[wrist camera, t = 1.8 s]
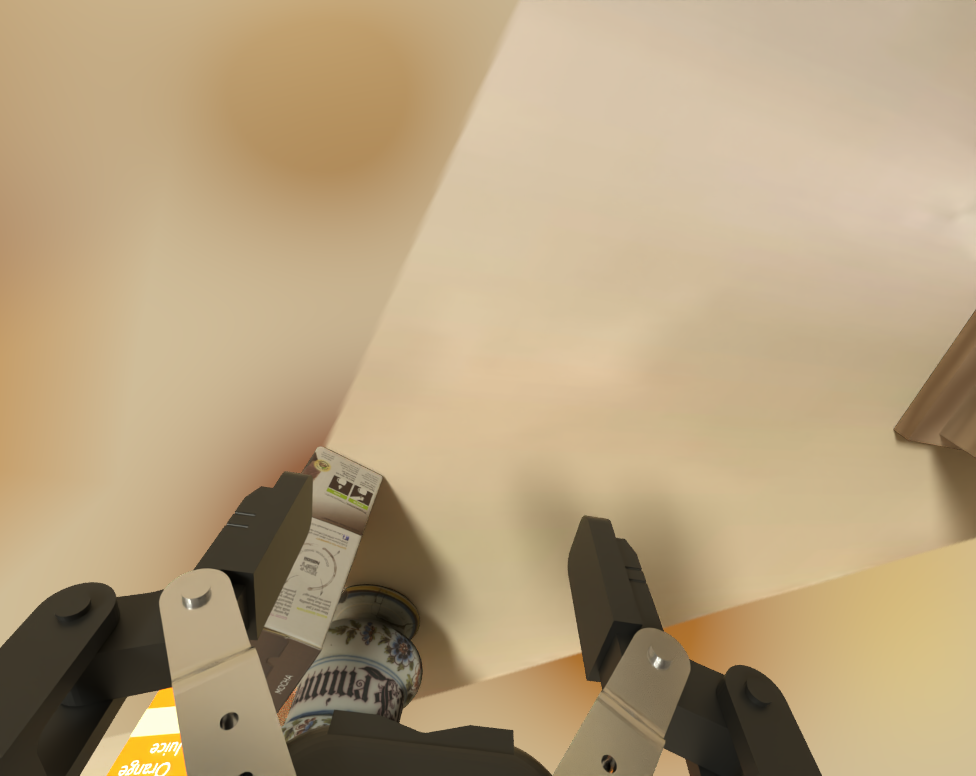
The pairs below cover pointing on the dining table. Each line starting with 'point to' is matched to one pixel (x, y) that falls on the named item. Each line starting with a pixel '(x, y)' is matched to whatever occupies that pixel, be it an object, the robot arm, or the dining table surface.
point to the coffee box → (316, 571)
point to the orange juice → (154, 743)
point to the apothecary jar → (361, 661)
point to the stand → (947, 399)
